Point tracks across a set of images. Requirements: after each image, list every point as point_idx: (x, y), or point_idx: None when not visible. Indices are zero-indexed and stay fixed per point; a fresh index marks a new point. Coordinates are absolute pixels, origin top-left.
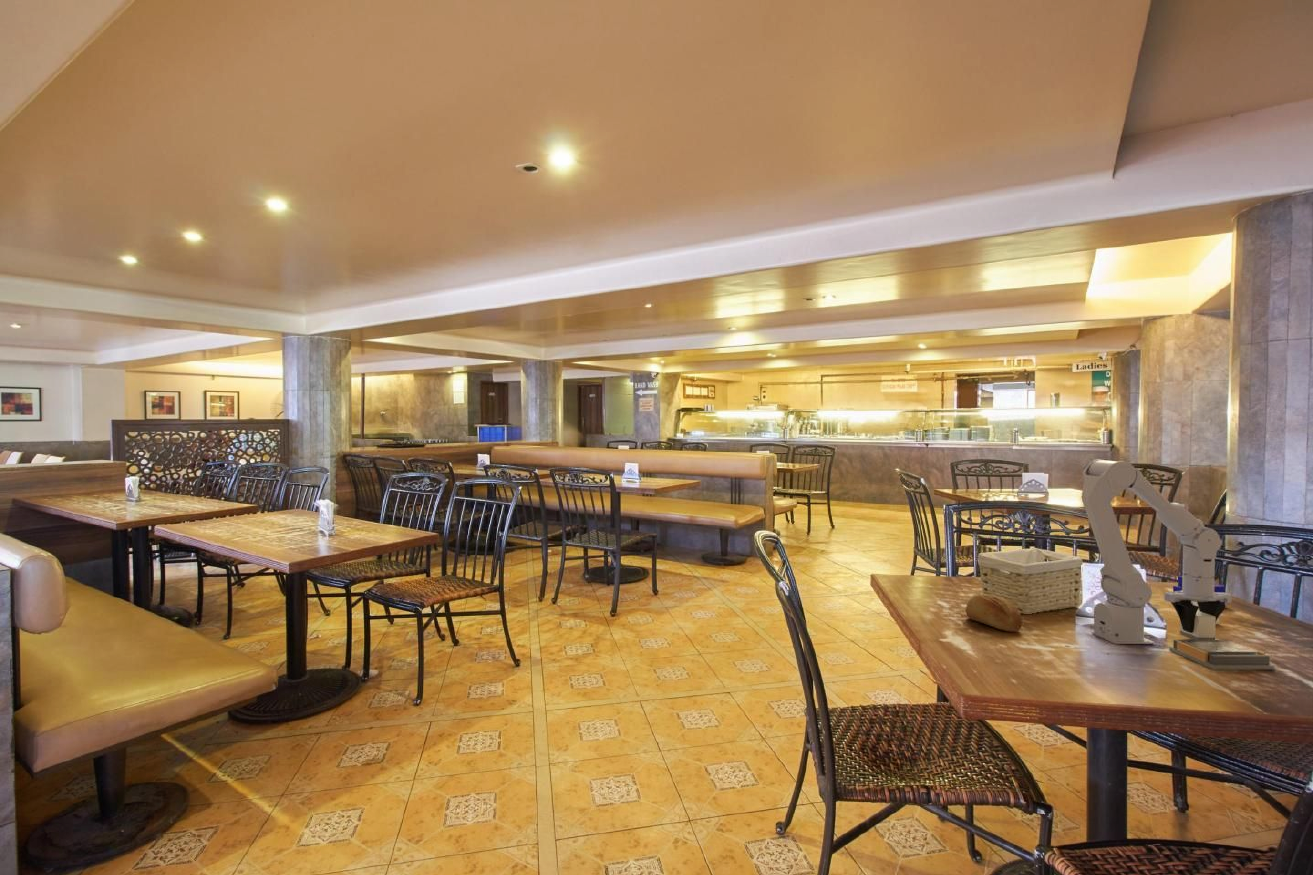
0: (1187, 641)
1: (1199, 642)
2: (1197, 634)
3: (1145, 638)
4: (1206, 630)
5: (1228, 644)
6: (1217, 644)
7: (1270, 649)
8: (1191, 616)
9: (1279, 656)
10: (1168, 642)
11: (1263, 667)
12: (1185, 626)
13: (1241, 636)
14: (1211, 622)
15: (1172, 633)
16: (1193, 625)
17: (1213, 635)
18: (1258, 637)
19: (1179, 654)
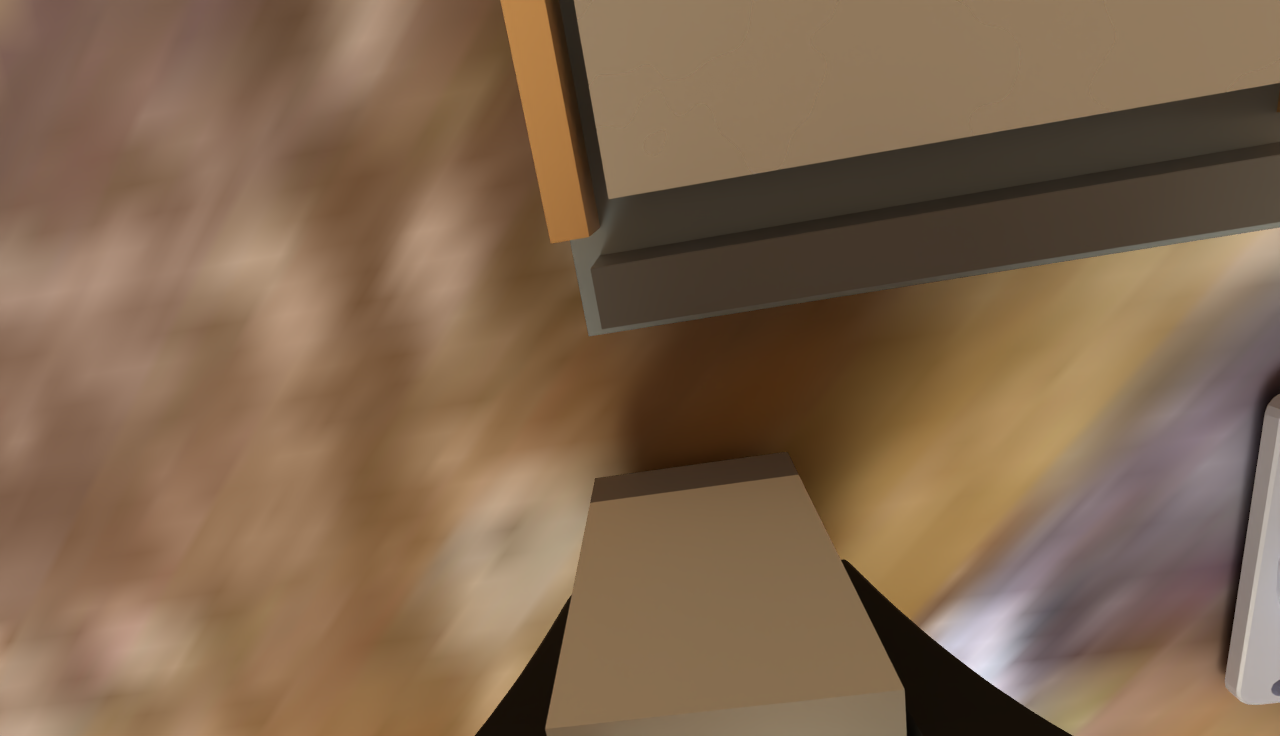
0: (1234, 159)
1: (1160, 62)
2: (806, 503)
3: (1274, 506)
4: (705, 537)
5: (759, 32)
6: (936, 7)
7: (116, 420)
8: (992, 715)
9: (134, 208)
10: (1027, 481)
11: None
12: None
13: (193, 725)
14: (629, 631)
15: None
16: None
17: (610, 512)
18: (60, 719)
19: None
